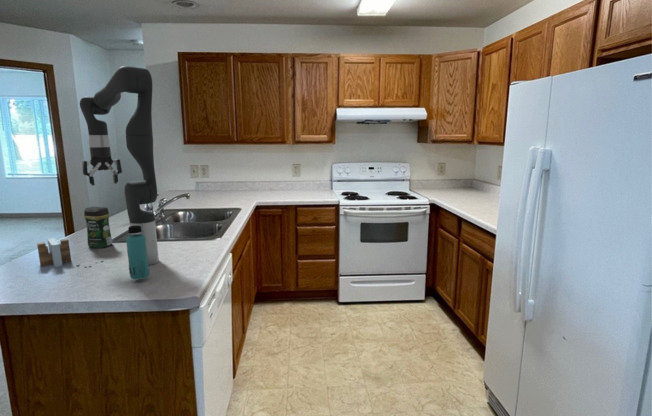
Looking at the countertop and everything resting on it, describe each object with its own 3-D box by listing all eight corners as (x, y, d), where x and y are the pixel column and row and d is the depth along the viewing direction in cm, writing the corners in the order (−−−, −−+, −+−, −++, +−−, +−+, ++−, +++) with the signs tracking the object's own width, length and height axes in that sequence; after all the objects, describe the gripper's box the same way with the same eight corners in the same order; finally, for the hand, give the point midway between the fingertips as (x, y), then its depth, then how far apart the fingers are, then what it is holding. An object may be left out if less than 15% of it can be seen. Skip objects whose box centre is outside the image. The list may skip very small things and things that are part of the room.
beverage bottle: (153, 276, 137) (148, 223, 133) (145, 283, 131) (139, 228, 127) (135, 276, 137) (129, 223, 133) (126, 283, 131) (120, 228, 127)
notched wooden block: (71, 260, 154) (68, 239, 152) (41, 266, 147) (37, 244, 145) (70, 259, 155) (67, 238, 154) (40, 265, 149) (36, 243, 147)
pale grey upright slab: (57, 258, 156) (54, 237, 155) (62, 266, 148) (59, 244, 146) (50, 259, 155) (47, 239, 153) (55, 267, 146) (51, 245, 144)
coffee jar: (84, 247, 171) (79, 208, 167) (98, 242, 179) (93, 204, 175) (103, 249, 169) (98, 209, 166) (115, 244, 177) (111, 205, 173)
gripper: (115, 145, 165) (119, 182, 168) (78, 146, 155) (83, 185, 159) (121, 146, 160) (125, 183, 163) (82, 146, 150) (87, 186, 153)
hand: (104, 184), depth 161 cm, fingers open, 8 cm apart
